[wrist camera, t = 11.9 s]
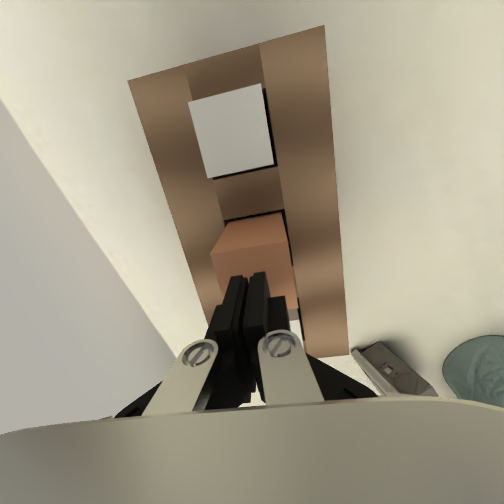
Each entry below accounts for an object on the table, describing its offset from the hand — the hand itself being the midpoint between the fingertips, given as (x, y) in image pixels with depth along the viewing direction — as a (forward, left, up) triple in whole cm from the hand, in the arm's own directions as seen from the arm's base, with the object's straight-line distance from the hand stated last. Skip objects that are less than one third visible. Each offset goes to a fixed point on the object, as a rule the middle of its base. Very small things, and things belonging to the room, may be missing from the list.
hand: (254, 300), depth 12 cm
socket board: (0, 0, -12) cm, 12 cm away
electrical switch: (+19, +11, -13) cm, 25 cm away
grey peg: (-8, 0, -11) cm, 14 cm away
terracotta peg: (0, 0, -8) cm, 8 cm away
